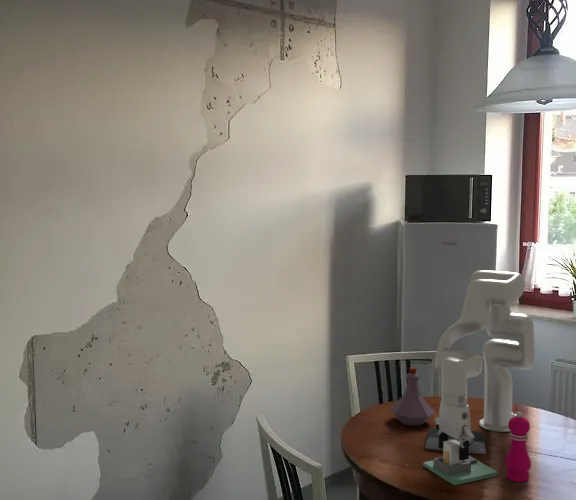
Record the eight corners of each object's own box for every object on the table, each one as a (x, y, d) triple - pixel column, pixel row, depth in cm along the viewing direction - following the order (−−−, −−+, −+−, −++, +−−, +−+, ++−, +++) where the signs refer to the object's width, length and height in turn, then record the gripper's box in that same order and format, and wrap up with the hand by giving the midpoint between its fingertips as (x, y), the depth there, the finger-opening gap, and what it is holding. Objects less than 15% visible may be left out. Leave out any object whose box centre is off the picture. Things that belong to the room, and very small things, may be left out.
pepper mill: (500, 473, 203) (502, 408, 201) (524, 472, 203) (525, 407, 201) (510, 483, 195) (512, 416, 194) (534, 482, 196) (536, 415, 194)
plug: (454, 464, 206) (454, 439, 205) (462, 469, 202) (462, 444, 201) (441, 467, 204) (442, 441, 203) (449, 472, 200) (450, 446, 200)
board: (465, 457, 214) (465, 446, 214) (497, 475, 201) (498, 463, 200) (423, 466, 208) (423, 454, 208) (454, 485, 194) (454, 473, 194)
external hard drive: (486, 456, 217) (486, 444, 216) (424, 450, 222) (424, 438, 221) (485, 441, 229) (485, 430, 229) (427, 436, 234) (427, 425, 234)
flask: (387, 427, 242) (388, 372, 240) (391, 412, 258) (392, 361, 256) (434, 431, 238) (435, 375, 236) (435, 416, 254) (436, 363, 252)
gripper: (483, 405, 195) (482, 462, 197) (446, 388, 211) (445, 441, 212) (462, 408, 192) (461, 466, 194) (426, 391, 208) (425, 445, 209)
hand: (453, 453), depth 203 cm, fingers open, 9 cm apart
